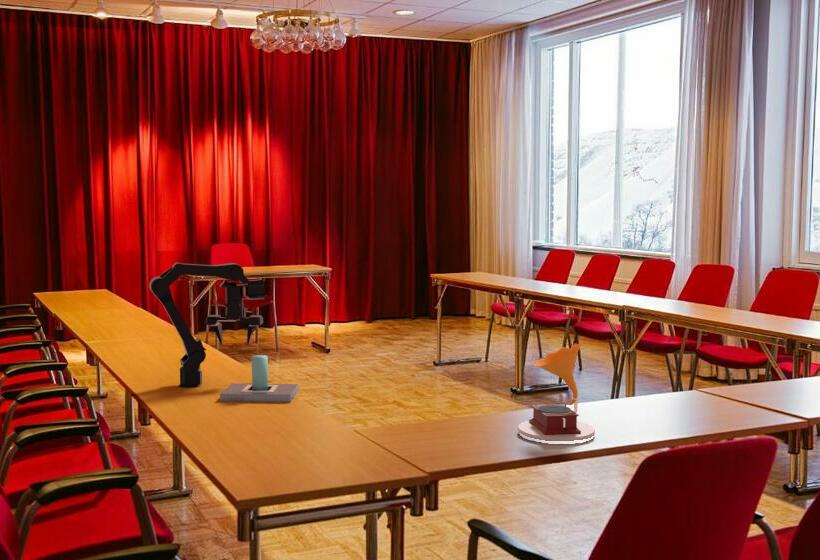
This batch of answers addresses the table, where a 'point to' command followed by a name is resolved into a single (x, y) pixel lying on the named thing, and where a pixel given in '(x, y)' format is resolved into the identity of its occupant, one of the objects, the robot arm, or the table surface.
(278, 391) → the flange plate
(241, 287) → the robot arm
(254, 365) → the teal peg
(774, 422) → the table surface
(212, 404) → the table surface
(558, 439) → the gramophone
